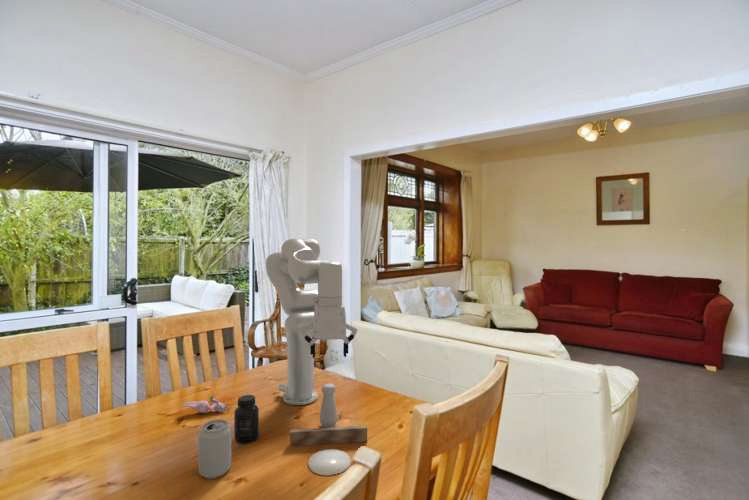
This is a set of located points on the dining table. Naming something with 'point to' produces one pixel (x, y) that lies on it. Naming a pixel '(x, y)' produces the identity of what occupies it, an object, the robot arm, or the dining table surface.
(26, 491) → the dining table surface
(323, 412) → the grey tapered upright piece
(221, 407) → the rabbit figure
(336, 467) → the ceramic coaster
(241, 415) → the supplement bottle
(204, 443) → the can
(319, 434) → the walnut wall
